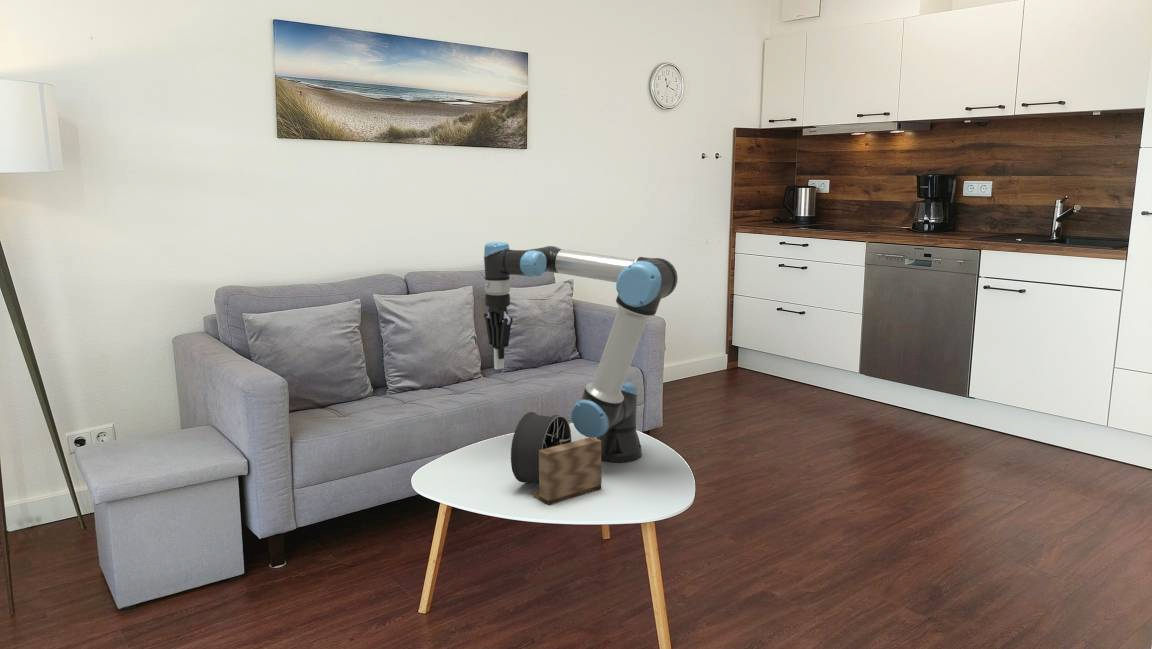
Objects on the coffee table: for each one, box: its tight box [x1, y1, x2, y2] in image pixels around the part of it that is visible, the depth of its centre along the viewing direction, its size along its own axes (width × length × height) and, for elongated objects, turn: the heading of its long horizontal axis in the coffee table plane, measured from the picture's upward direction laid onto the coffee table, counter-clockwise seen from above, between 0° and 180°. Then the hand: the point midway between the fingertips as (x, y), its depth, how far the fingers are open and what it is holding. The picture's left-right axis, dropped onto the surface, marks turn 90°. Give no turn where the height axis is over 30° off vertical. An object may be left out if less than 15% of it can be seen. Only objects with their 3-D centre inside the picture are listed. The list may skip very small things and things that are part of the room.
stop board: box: [532, 437, 602, 506], centre depth 222 cm, size 18×7×14 cm, turn 128°
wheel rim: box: [510, 411, 572, 484], centre depth 229 cm, size 20×9×20 cm, turn 156°
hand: (499, 368), depth 254 cm, fingers closed
